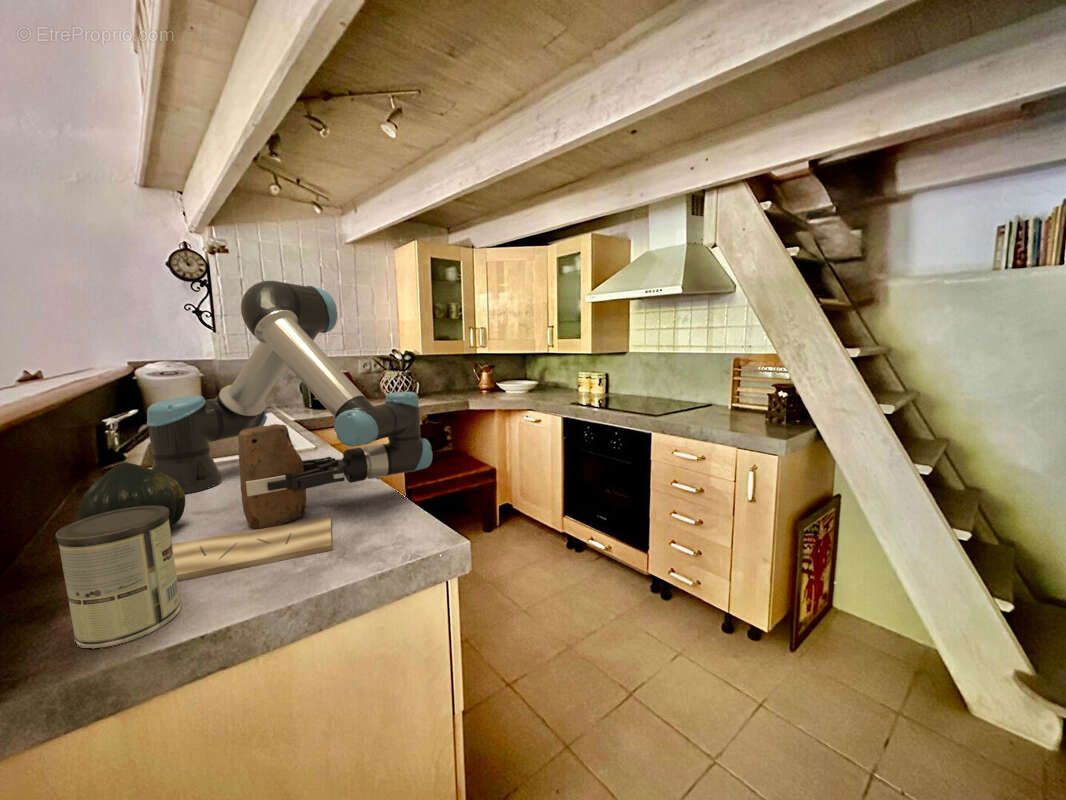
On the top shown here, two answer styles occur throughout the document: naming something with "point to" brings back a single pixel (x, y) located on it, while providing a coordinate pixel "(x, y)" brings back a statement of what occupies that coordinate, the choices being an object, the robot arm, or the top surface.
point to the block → (269, 475)
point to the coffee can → (119, 574)
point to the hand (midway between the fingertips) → (245, 483)
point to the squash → (133, 492)
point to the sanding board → (251, 548)
